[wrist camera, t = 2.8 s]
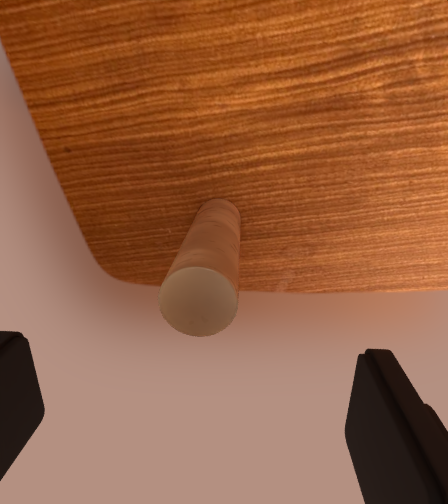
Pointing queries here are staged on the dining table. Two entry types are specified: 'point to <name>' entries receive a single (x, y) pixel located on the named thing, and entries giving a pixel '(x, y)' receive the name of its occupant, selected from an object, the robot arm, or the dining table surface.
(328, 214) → the dining table surface
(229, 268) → the stirring stick
